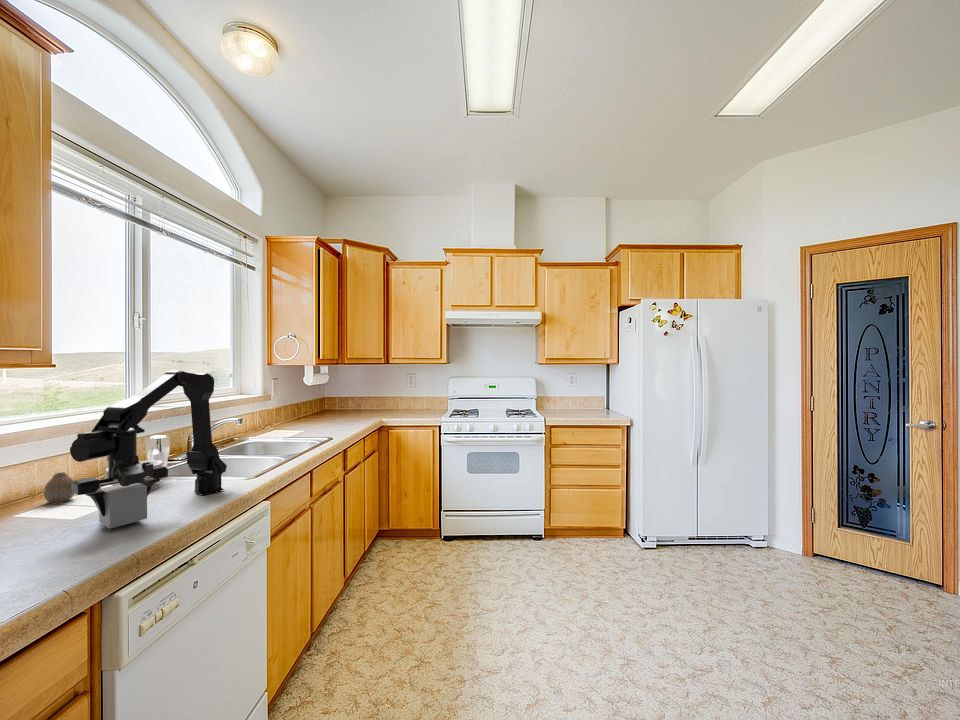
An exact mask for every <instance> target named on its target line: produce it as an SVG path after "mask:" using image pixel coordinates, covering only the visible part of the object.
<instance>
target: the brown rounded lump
mask: <svg viewBox="0 0 960 720" xmlns="http://www.w3.org/2000/svg"><path fill="white" fill-rule="evenodd" d="M74 481H75V480H74V479H72V478H71V477H70V476H69V475H68V474H67V473H66V472H56V473H54V474H53V476H52V477H51V478H50V479H49V480H48V482H46V484H45V487H44V488H43V497H44V499H45V501H46V502H47V503H49V504H52V503H56V504H61V503H60V502H62V503H65V502H64V501H66V502H69V500H71V499H72V498H73V497H74V495H75V493H73V492H72V483H73V482H74Z"/></svg>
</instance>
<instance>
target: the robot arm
mask: <svg viewBox="0 0 960 720" xmlns="http://www.w3.org/2000/svg"><path fill="white" fill-rule="evenodd" d="M177 387H182V390H183V393H184V395H185V396H186V397H187V399H188V400H189V402H190V412H191V425H192V436H193V437H192V438H193V445H192V448H191V449H190V450H188V451H186V453H185V455H186V465H188V468H189V469H190V471H191V474H192V475H196V478H195V480H194V490H193V491H194V493H195V492H196V493H195V494H198V493H199V494H198V495H200V494H202V495H201V496H206V495H205V494H207V495H210V494H209V493H211V494H214V493H213V492H215V493H217V492H216V491H219V492H221V491H220V490H223V489H224V488H222V474H223V473H226V472H227V468H228V465H227V464H226V463H225V462H224V461H223V460H222V459H221V456H220V453H219V450H218V448H217V447H216V445H215V444H214V443H213V440H212V439H213V438H212V437H213V436H212V426H211V425H212V424H211V412H210V399H211V397H212V395H213V394H214V391H215V390H214V388H215V378H214V376H212V375H211V374H210V373H203V372H202V373H192V372H191V373H190V372H186V371H184V370H168V371H166V372H165V373H163V375H162V376H161V377H159V378H158V379H156V380H155V381H153V382H152V383H151V384H149V385H148V386H146V387H145V388H144V389H142V390H140V391H139V392H138V393H137V394H135V395H133V396H132V397H129V398H127V399H126V398H125V399H124V400H119V401H117V402H116V403H113V404H112V405H109V406H108V407H106V408H105V409H104V410H103V412H102V413H103V414H102V415H101V417H100V419H99V420H98V421H97V422H96V424H95V425H94V427H93V428H92V430H91V431H90V432H81V433H77V438H76V439H74V440H73V442H72V444H71V446H70V447H69V453H70V456H71V457H72V459H73V460H74V461H76V462H78V463H82V462H86V461H91V460H95V459H100V458H104V457H106V461H108V463H107V465H108V466H107V468H108V472H107V476H108V478H105V477H104V478H101V479H99V478H96V477H94V476H91V477H86V478H80V479H75V480H73V481H74V482H73V483H72V492H73V493H74V495H77V496H81V495H82V496H83V495H85V496H87V497H90V498H91V499H92V501H93V502H94V504H95V506H96V508H97V510H98V513H99V512H100V514H101V516H105V506H104V498H103V496H104V491H102V490H101V488H102V487H106V486H112V485H111V484H116V483H120V485H121V486H129V485H131V484H136V483H138V484H139V483H141V484H144V485H146V486H147V497H148V495H149V494H150V492H151V490H152V487H153V486H154V485H155V484H156V483H158V482H160V481H161V479H164V478H168V477H169V469H168V467H167V468H166V467H164V466H161V465H155V466H153V463H152V462H145V463H142V464H140V463H139V461H140V459H139V455H138V453H137V452H138V451H137V450H138V449H137V447H138V445H137V441H138V439H137V438H138V437H137V434H143V433H145V432H146V431H145V429H144V428H143V427H140V426H139V424H140V423H141V422H142V421H143V419H144V418H146V416H147V415H148V412H149V410H150V408H151V407H153V405H155V404H156V403H158V402H159V401H161V400H162V399H163V398H164V397H165V396H167V395H168V394H170V393H171V392H172V391H173V390H174V389H176V388H177ZM223 491H224V490H223Z"/></svg>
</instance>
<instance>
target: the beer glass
mask: <svg viewBox="0 0 960 720" xmlns="http://www.w3.org/2000/svg"><path fill="white" fill-rule="evenodd" d="M170 444H171V441H170V435H169V434H157V435H150V436H148V437H146V458H147V461H150V460H157V461H162V462H163V466H164V467H166V468H167V469H168V460H169V456H170V449H171V447H170V446H171V445H170Z"/></svg>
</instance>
